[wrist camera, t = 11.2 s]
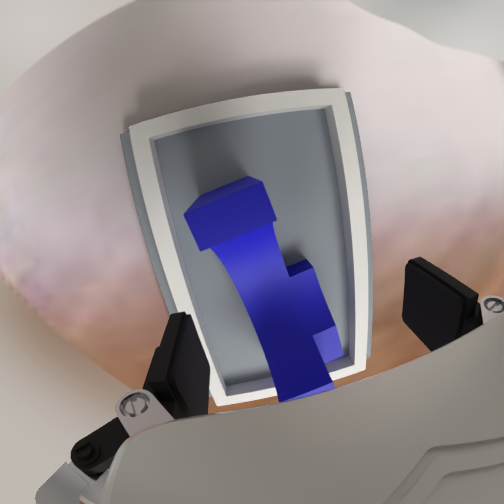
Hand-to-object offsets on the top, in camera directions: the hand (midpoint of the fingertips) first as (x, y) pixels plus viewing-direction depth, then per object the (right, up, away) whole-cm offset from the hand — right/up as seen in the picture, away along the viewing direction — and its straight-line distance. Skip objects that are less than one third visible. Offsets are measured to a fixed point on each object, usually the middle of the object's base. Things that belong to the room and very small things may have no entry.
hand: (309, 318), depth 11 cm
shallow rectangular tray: (-1, +2, +7) cm, 7 cm away
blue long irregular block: (-1, +1, +6) cm, 7 cm away
